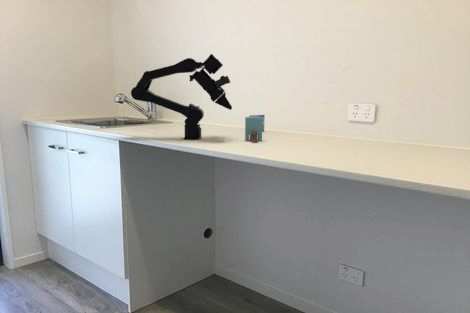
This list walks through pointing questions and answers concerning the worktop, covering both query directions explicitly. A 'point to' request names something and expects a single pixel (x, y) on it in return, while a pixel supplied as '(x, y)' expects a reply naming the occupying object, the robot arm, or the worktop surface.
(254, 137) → the brown stepped bar
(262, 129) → the medicine box
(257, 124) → the teal plate
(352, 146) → the worktop surface
